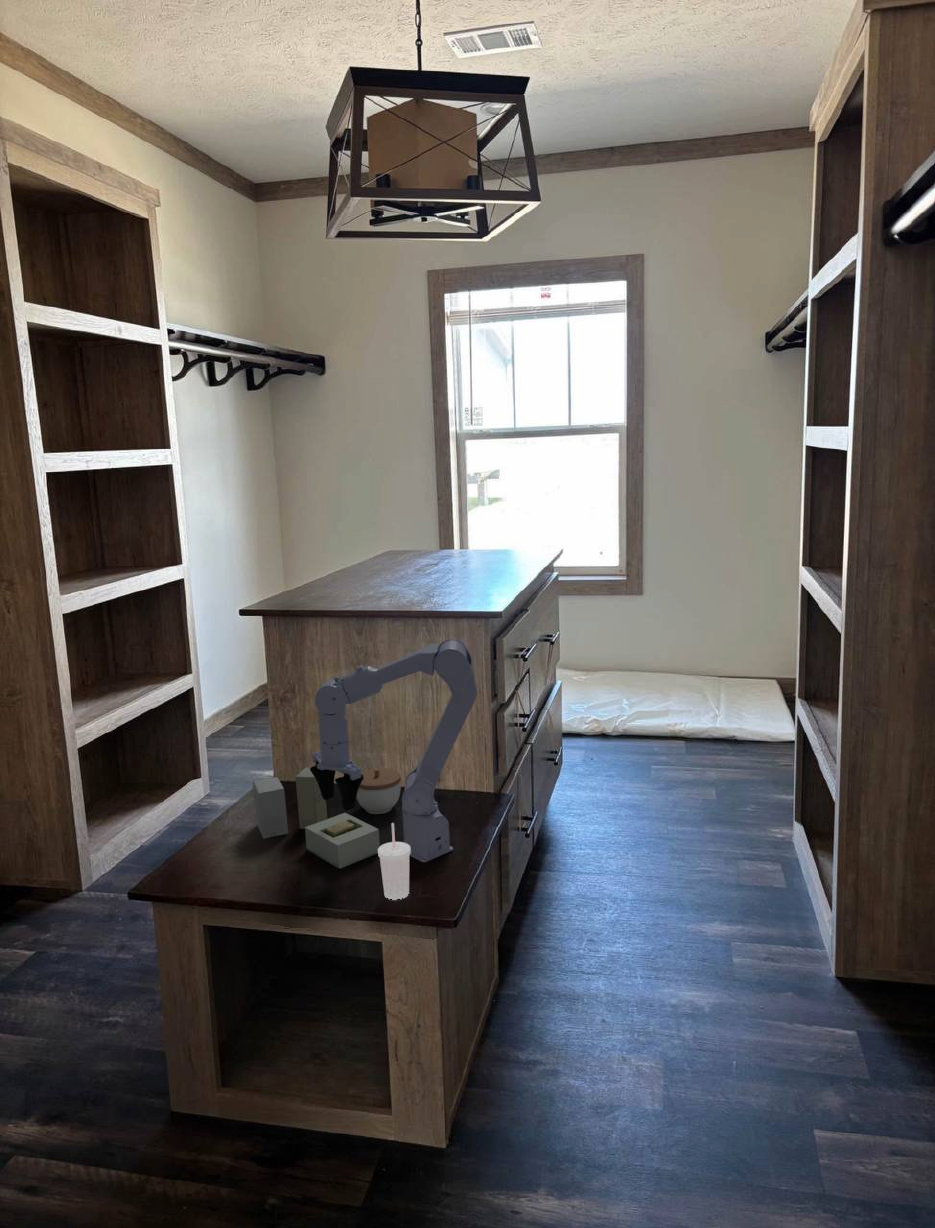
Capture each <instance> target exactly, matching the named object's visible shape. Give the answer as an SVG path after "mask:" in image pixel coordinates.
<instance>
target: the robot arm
mask: <svg viewBox="0 0 935 1228" xmlns="http://www.w3.org/2000/svg"><path fill="white" fill-rule="evenodd" d="M439 643H440V644H439ZM418 672H421V673H424V674H427V675H429V676H434V675H435V674H434V673H435V672H436V674H437V675H438V676H439V677H440V678H441V679H442V680H443V682H445V683H446V684H447V687H448V689H449V691H450V693H451V695H450V697H449V699H448V702H447V704H446V706H445V708H444V709H443V712H442V715H440V718H439V721H438V723H437V725H436V727H435V729H434V732H433V733H432V736H431V738H430V740H429V742H428V744H427V746H426V749H425V750H424V753H423V755H422V757H421V759H420V760H419V762H417V765H416V767H415V768H414V769H413V770H412V771H411V772H409V773H408V774H407V776H406V778H405V782H404V790H403V793H402V795H401V796H402V797H401V803H402V805H401V806H402V807H401V810H402V813H401V814H402V827H403V842H404V843H407V844H408V845H410V848H411V853H410V855H409V857H412V858H413V859H416V860H417V861H419V862H422V863H427V862H429V861H431V860H434V859H436V858H438V857H442V855H445V854H448V853H450V852H451V851H453V850H454V847H453V846H450V845H451V844H450V843H451V841H450V840H451V839H450V824H449V821H448V819H447V818H446V817H445V816H444V815H443V814H442V813H441V812H440V810H439V806H438V802H437V801H436V799H435V797H434V794H435V790H436V788H437V784H438V782H439V779H440V776H441V774H442V773H441V772H442V770H443V768H444V766H445V764H446V762H447V761H448V758H449V756H450V754H451V752H452V750H453V748H454V745H455V743H456V741H457V739H458V737H459V735H460V733H461V731H462V729H463V727H464V724H465V722H466V720H467V718H468V716H469V714H470V711H471V710H472V707H473V705H474V703H475V701H476V699H477V696H478V686H477V682H476V676H475V671H474V665H473V658H472V656H471V653H470V652H469V650H468V648H467V646H466V645H465V644H464V642H463V641H460V640H459V639H457V638H448V639H446V640H445V639H444V640H443V641H441V642H436V643H432V644H430V645H427V646H425V647H423V648H420V649H418V650H416V651H413V652H412V653H408V654H407V655H404V656H402V657H401V658H399V659H396V660H394V661H392V662H389V663H388V664H386V665H385V664H384V665H382V666H381V667H378V668H376V667H374V666H370V665H367V666H363V665H362V664H361V665H358V666H356V668H355V671H353V672H350V673H347V674H345V675H342V676H340V675H337V676H335V677H334V678H333V679H328V680H325V681H324V682H323V683H322V684H321V685H320V687H319V688H318V690H317V691H316V694H315V697H314V704H315V707H316V709H317V710H318V732H319V733H318V736H319V747H320V750H319V751H316V752H313V753H311V755H312V756H311V757H312V763H313V764H315V765H312V766H310V767H311V768H310V771H311V772H312V774H313V775H314V777H315V779H316V781H317V783H318V786H319V788H320V791H321V795H322V797H323V799H324V800H326V801H327V800H329V799H332V798H334V794H335V783H336V785H337V787H338V789H339V792H340V797H341V803H342V804H341V805H342V807H343V810H344V811H349V810H352V809H354V808H355V806H356V800H357V798H356V796H357V792H358V789H359V786H360V784H361V782H362V781H363V779H364V776H363V775H362V774H361V772H362V771H361V768H360V767H359V766H357V765H356V763H355V762H354V761H353V760H352V759H351V757H350V754H351V753H350V744H349V743H350V742H349V740H350V739H349V729H348V728H349V726H348V725H349V723H348V717H347V709H346V708H347V707H346V706H347V705H352V704H354V703H356V702H359V701H362V700H364V699H366V698H369V697H372V696H374V695H376V694H378V693H380V692H381V690H382V688H383V685H384V684H388V683H390V682H392V681H396V680H398V679H402V678H404V677H407V676H409V675H412V674H416V673H418ZM336 772H338V773H340V774H343V776H340V777H336V778H335V775H336Z"/></svg>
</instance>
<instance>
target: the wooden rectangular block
mask: <svg viewBox="0 0 935 1228" xmlns="http://www.w3.org/2000/svg"><path fill="white" fill-rule="evenodd" d="M353 830H355V827H354V824H352V823H350V822H347V821H343V822H341V823H338V824H336V825H333V826H331V827H328V828H326V834H327V835H329V836H330V837H332V838H334V837H337V836H340V835H342V834H345V833H347V832H350V831H353Z"/></svg>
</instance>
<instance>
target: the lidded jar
mask: <svg viewBox="0 0 935 1228" xmlns="http://www.w3.org/2000/svg"><path fill="white" fill-rule="evenodd" d="M361 774H362V775H363V776H364V779H363V781H362V782H361V784H360V786H359V789H358V792H357V796H356V800H357V803H358V804H359V805H360V807H362V808H363V809H364V810H365V811H366V812H367V813H368V814H372V815H381V814H385V813H389V812H391V811H392V809H393V807H395V805H397V802H398V801H399V799H400V795H401V781H402V777H401V774H400V772H398V771H397V770H395V769H393V768H392V769H391V768H382V767H381V768H380V767H379V768H370V769H365V770H363V771H361Z"/></svg>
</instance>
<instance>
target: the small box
mask: <svg viewBox="0 0 935 1228" xmlns="http://www.w3.org/2000/svg"><path fill="white" fill-rule="evenodd" d="M252 786H253V787H252V788H253V798H254V806H255V809H254V810H255V816H256V817H255V818H256V827H257V828H258V830H259V833H260V835H261V837H262V839H264V840H265V839H270V838H275V837H278V836H284V835H288V834H289V830H288V829H289V828H288V815H287V803H286V794H285V788H284V786H283V784H282V783H281V781H280V779H279V777H278V776H277V777H271V778H270V777H269V778H264V779H258V780H253V781H252Z"/></svg>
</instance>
